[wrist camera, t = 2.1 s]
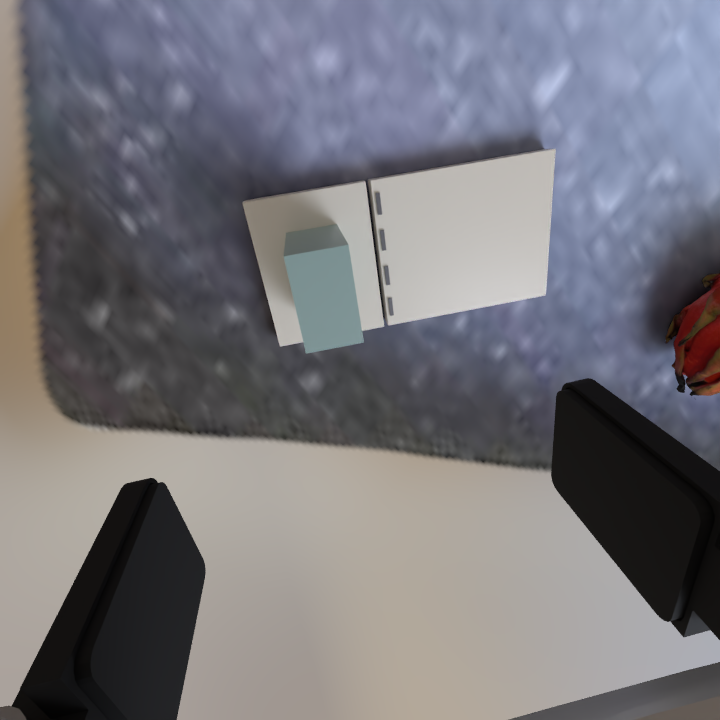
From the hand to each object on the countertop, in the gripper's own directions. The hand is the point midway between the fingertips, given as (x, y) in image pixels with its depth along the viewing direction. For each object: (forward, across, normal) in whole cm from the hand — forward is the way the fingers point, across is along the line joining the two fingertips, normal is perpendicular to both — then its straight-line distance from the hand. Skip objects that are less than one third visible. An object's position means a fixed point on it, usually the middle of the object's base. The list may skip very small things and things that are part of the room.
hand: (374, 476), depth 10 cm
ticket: (+19, -9, 0) cm, 21 cm away
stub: (+19, 0, -1) cm, 19 cm away
